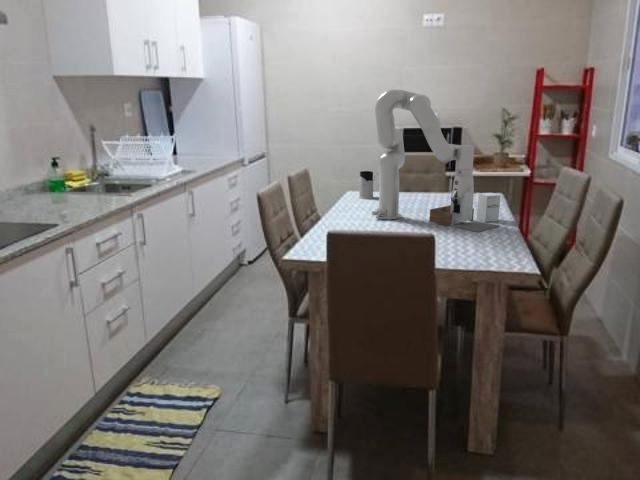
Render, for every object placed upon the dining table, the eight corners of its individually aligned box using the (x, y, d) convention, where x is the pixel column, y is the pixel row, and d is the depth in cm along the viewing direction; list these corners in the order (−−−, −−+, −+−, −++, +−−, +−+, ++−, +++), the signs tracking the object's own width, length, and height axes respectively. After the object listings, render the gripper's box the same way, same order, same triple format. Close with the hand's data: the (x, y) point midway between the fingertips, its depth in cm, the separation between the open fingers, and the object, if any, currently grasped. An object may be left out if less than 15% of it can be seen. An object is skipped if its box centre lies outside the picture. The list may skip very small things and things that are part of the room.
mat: (477, 232, 228) (477, 231, 228) (455, 227, 237) (455, 226, 237) (499, 226, 238) (499, 225, 237) (476, 222, 247) (476, 220, 247)
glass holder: (355, 197, 310) (356, 171, 306) (376, 194, 316) (376, 169, 312) (363, 199, 302) (364, 173, 298) (384, 197, 309) (384, 171, 305)
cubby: (449, 226, 239) (450, 213, 237) (429, 221, 248) (430, 209, 246) (473, 220, 249) (473, 208, 247) (452, 216, 258) (453, 204, 256)
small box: (472, 219, 243) (474, 191, 239) (464, 221, 239) (465, 193, 235) (457, 216, 249) (459, 189, 245) (449, 218, 245) (450, 190, 241)
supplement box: (484, 222, 246) (486, 195, 242) (476, 219, 253) (478, 193, 249) (498, 221, 248) (501, 194, 244) (489, 218, 255) (491, 192, 251)
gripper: (458, 175, 230) (456, 215, 235) (482, 172, 240) (479, 210, 245) (444, 173, 236) (442, 213, 241) (468, 170, 246) (466, 208, 251)
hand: (461, 211), depth 243 cm, fingers closed on small box, 6 cm apart
